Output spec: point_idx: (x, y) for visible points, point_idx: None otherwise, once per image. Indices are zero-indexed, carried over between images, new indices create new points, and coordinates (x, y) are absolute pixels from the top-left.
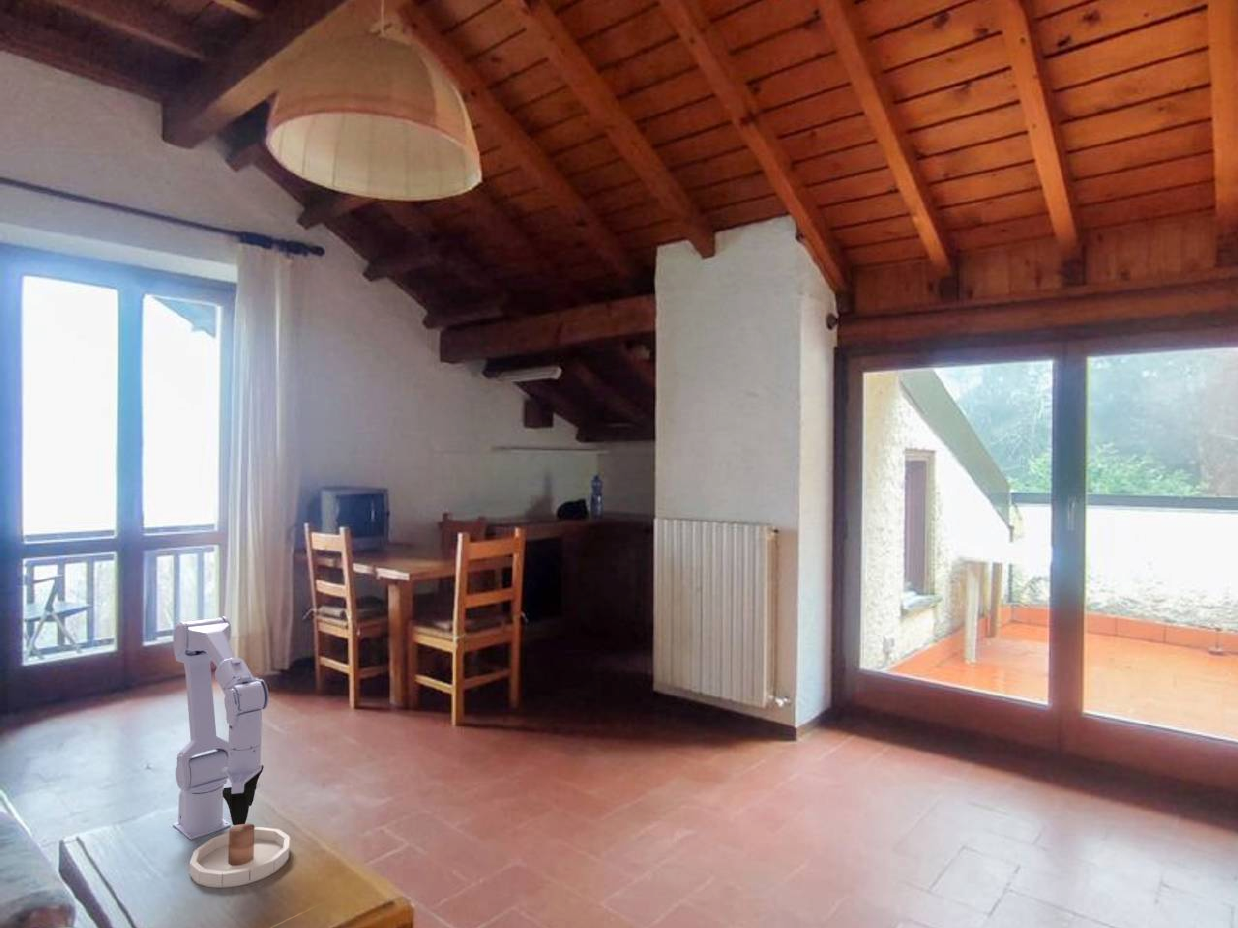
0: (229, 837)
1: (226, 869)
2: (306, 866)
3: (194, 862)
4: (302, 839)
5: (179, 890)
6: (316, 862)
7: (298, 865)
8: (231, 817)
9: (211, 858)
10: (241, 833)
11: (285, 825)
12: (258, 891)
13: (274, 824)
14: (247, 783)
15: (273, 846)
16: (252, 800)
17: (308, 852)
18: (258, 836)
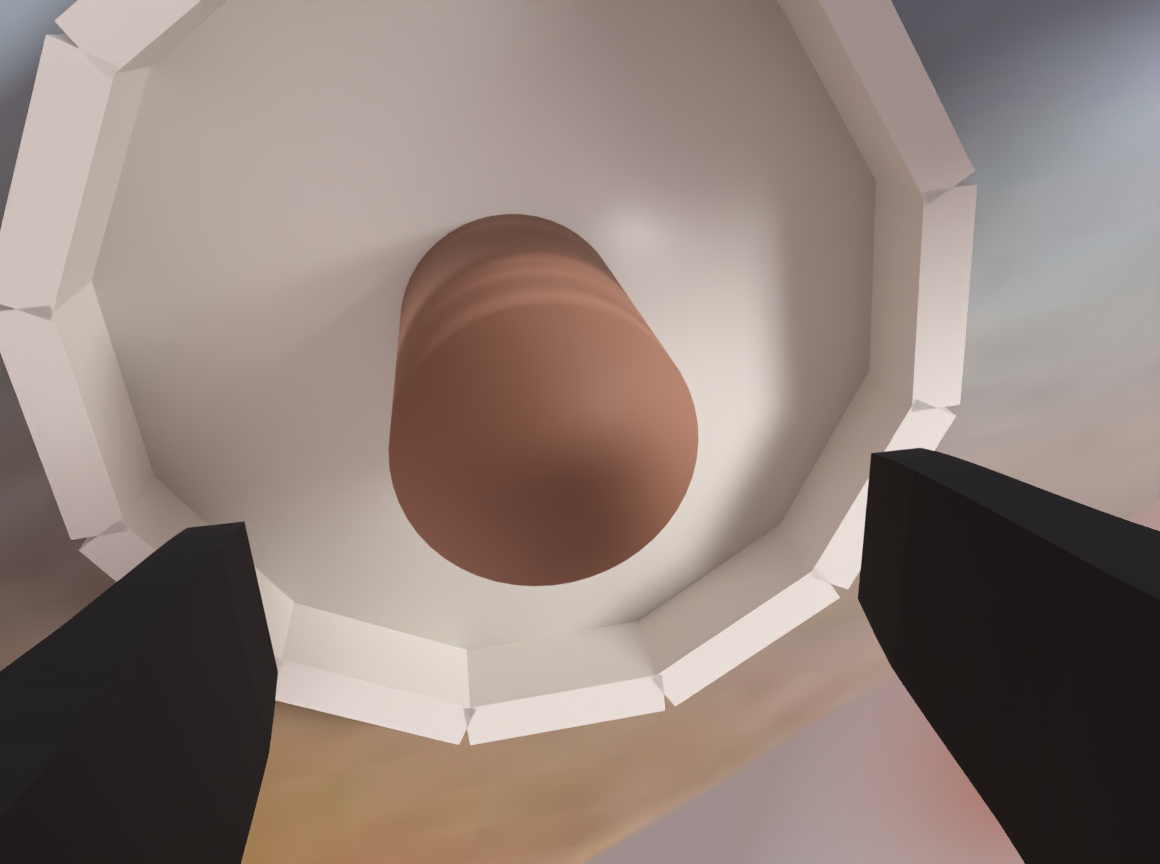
0: (467, 303)
1: (339, 237)
2: (372, 787)
3: None
4: (793, 677)
5: None
6: (420, 831)
7: (396, 737)
8: (110, 589)
9: (595, 20)
10: (408, 482)
11: None
12: (16, 565)
13: (1134, 425)
14: (1124, 823)
15: (685, 537)
16: (891, 660)
17: (579, 756)
18: (869, 395)
